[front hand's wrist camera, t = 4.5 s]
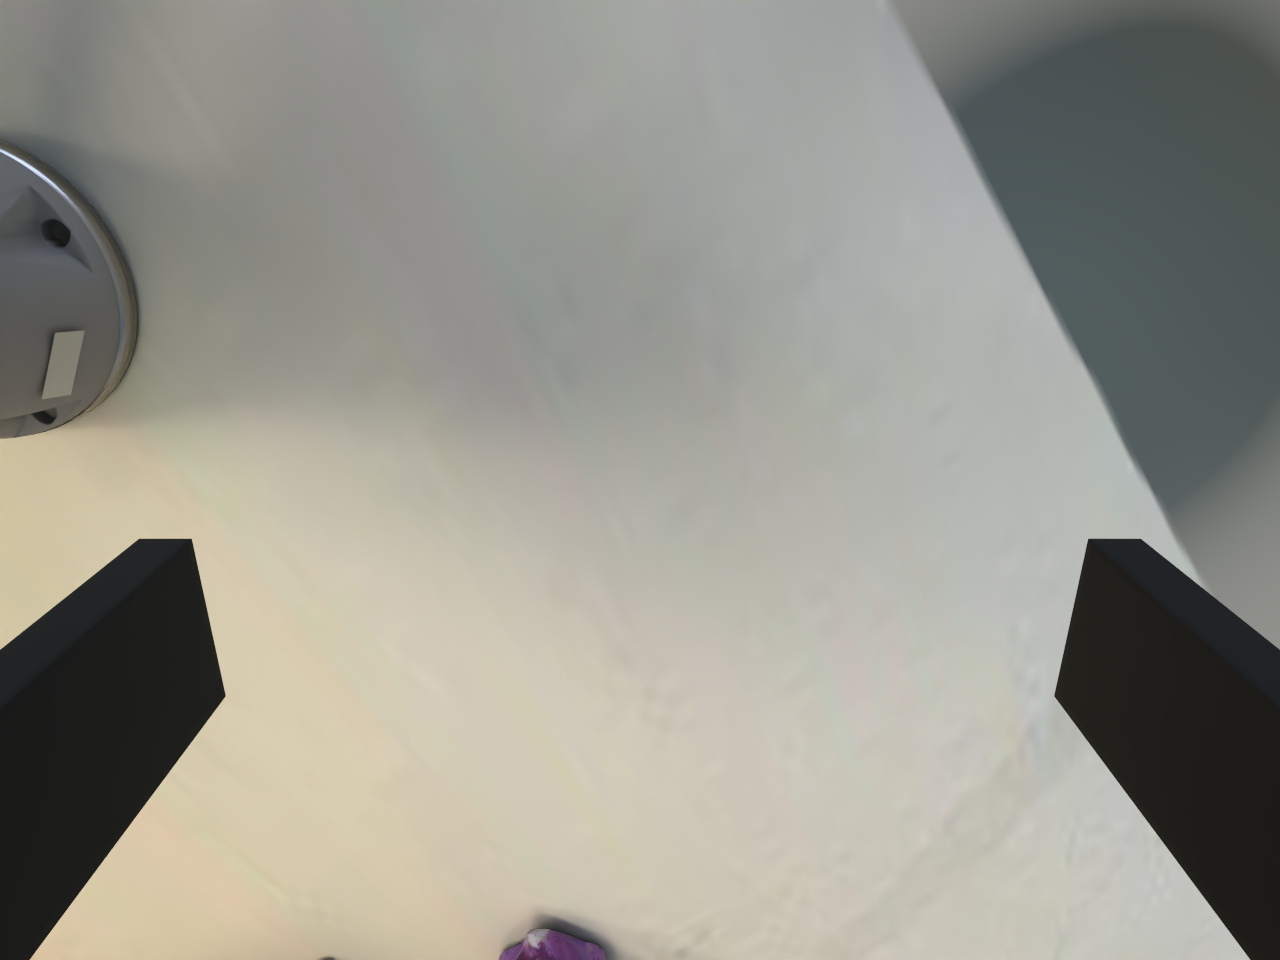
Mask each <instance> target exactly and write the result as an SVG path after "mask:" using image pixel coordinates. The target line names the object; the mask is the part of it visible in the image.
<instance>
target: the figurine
mask: <svg viewBox="0 0 1280 960" xmlns="http://www.w3.org/2000/svg"><path fill="white" fill-rule="evenodd" d="M499 960H607V958H606V954H605V952H604V951H603V950H602V949H601V948H600V946H598V945H596V944H593V943H591V942H584V941H582V940H580V939H577V938H575V937H573V936H570V935H568V934H565V933H561V932H558V931H554V930H550V929H535V930H531V931H530V932H529V933H527V934H526V936H525V938H524V942H521V943H520V944H519V945H516V946H514V947H512V948H509V949H507V950H505V951H504V952H503V953H502V954H501V955H500V958H499Z"/></svg>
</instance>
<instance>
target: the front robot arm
mask: <svg viewBox="0 0 1280 960" xmlns="http://www.w3.org/2000/svg"><path fill="white" fill-rule="evenodd" d="M136 334H137V306H136V299H135V292H134V288H133V284H132V280H131V276H130V273H129V270H128V267H127V265H126V262H125V260H124V257H123V255H122V253H121V251H120V248H119V246H118V244H117V243H116V241H115V239H114V237H113V235H112V234H111V232H110V230H109V229H108V227H107V226H106V224H105V223H104V221H103V220H102V218H101V217H100V216H99V215H98V213H97V212H96V211H95V209H94V208H93V207H92V206H91V204H90V203H89V202H88V201H87V200H86V199H85V198H84V197H83V196H82V195H81V193H80V192H79V191H77V190H76V189H75V188H74V187H73V186H72V185H71V184H70V183H69V182H68V181H67V180H66V179H64V178H63V177H62V176H61V175H59V174H58V173H57V172H56V171H54V170H53V169H52V168H50V167H49V166H47V165H46V164H44V163H43V162H41V161H40V160H38V159H37V158H35V157H33V156H31V155H30V154H28V153H26V152H24V151H22V150H20V149H18V148H16V147H14V146H12V145H9V144H7V143H4V142H1V141H0V438H15V437H21V436H27V435H33V434H37V433H41V432H46V431H49V430H51V429H54V428H57V427H59V426H61V425H64V424H66V423H68V422H70V421H72V420H74V419H76V418H78V417H80V416H82V415H84V414H86V413H87V412H89V411H90V410H92V409H94V408H95V407H96V406H98V405H99V404H100V403H101V402H103V401H104V400H105V399H106V398H107V397H108V396H109V395H110V394H111V393H112V392H113V390H114V389H115V388H116V386H117V385H118V384H119V382H120V381H121V379H122V377H123V375H124V374H125V372H126V370H127V367H128V365H129V363H130V360H131V357H132V354H133V350H134V346H135V340H136ZM224 698H225V691H224V686H223V682H222V677H221V672H220V668H219V663H218V659H217V654H216V649H215V645H214V640H213V635H212V631H211V626H210V622H209V617H208V612H207V608H206V603H205V598H204V594H203V589H202V585H201V580H200V575H199V571H198V566H197V561H196V557H195V552H194V548H193V543H192V539H139V540H137V541H136V542H135V543H134V544H132V545H131V546H130V547H129V548H127V549H126V550H125V551H124V552H122V553H121V554H120V555H119V556H117V557H116V558H115V559H114V560H112V561H111V562H110V563H109V564H107V565H106V566H105V567H104V568H102V569H101V570H100V571H98V572H97V573H96V574H95V575H93V576H92V577H91V578H90V579H88V580H87V581H86V582H85V583H83V584H82V585H81V586H80V587H78V588H77V589H76V590H75V591H73V592H72V593H71V594H70V595H68V596H67V597H66V598H65V599H63V600H62V601H61V602H60V603H58V604H57V605H56V606H55V607H53V608H52V609H51V610H50V611H48V612H47V613H46V614H45V615H43V616H42V617H41V618H40V619H38V620H37V621H36V622H35V623H33V624H32V625H31V626H30V627H28V628H27V629H26V630H25V631H23V632H22V633H21V634H20V635H18V636H17V637H16V638H15V639H13V640H12V641H11V642H10V643H8V644H7V645H6V646H5V647H3V648H2V649H1V650H0V960H30V958H31V957H32V956H33V954H34V953H35V952H36V950H37V949H38V948H39V946H40V945H41V944H42V942H43V941H44V940H45V938H46V937H47V935H48V934H49V933H50V931H51V930H52V929H53V927H54V926H55V925H56V923H57V922H58V921H59V919H60V918H61V917H62V915H63V914H64V913H65V911H66V910H67V909H68V907H69V906H70V905H71V903H72V902H73V901H74V899H75V898H76V896H77V895H78V894H79V892H80V891H81V890H82V888H83V887H84V886H85V884H86V883H87V882H88V880H89V879H90V878H91V876H92V875H93V874H94V872H95V871H96V870H97V868H98V867H99V866H100V864H101V863H102V862H103V860H104V859H105V858H106V856H107V855H108V853H109V852H110V851H111V849H112V848H113V847H114V845H115V844H116V843H117V841H118V840H119V839H120V837H121V836H122V835H123V833H124V832H125V831H126V829H127V828H128V827H129V825H130V824H131V823H132V821H133V820H134V819H135V817H136V816H137V815H138V813H139V812H140V810H141V809H142V808H143V806H144V805H145V804H146V802H147V801H148V800H149V798H150V797H151V796H152V794H153V793H154V792H155V790H156V789H157V788H158V786H159V785H160V784H161V782H162V781H163V780H164V778H165V777H166V776H167V774H168V773H169V772H170V770H171V769H172V767H173V766H174V765H175V763H176V762H177V761H178V759H179V758H180V757H181V755H182V754H183V753H184V751H185V750H186V749H187V747H188V746H189V745H190V743H191V742H192V741H193V739H194V738H195V737H196V735H197V734H198V733H199V731H200V730H201V729H202V727H203V726H204V724H205V723H206V722H207V720H208V719H209V718H210V716H211V715H212V714H213V712H214V711H215V710H216V708H217V707H218V706H219V704H220V703H221V702H222V700H223V699H224ZM1055 698H1056V699H1057V700H1058V702H1059V703H1060V704H1061V706H1062V707H1063V708H1064V710H1065V711H1066V712H1067V714H1068V715H1069V716H1070V718H1071V719H1072V720H1073V722H1074V723H1075V724H1076V726H1077V727H1078V729H1079V730H1080V731H1081V733H1082V734H1083V735H1084V737H1085V738H1086V739H1087V741H1088V742H1089V743H1090V745H1091V746H1092V747H1093V749H1094V750H1095V751H1096V753H1097V754H1098V755H1099V757H1100V758H1101V759H1102V761H1103V762H1104V763H1105V765H1106V766H1107V767H1108V769H1109V770H1110V772H1111V773H1112V774H1113V776H1114V777H1115V778H1116V780H1117V781H1118V782H1119V784H1120V785H1121V786H1122V788H1123V789H1124V790H1125V792H1126V793H1127V794H1128V796H1129V797H1130V798H1131V800H1132V801H1133V802H1134V804H1135V805H1136V806H1137V808H1138V809H1139V810H1140V812H1141V813H1142V815H1143V816H1144V817H1145V819H1146V820H1147V821H1148V823H1149V824H1150V825H1151V827H1152V828H1153V829H1154V831H1155V832H1156V833H1157V835H1158V836H1159V837H1160V839H1161V840H1162V841H1163V843H1164V844H1165V845H1166V847H1167V848H1168V849H1169V851H1170V852H1171V853H1172V855H1173V856H1174V858H1175V859H1176V860H1177V862H1178V863H1179V864H1180V866H1181V867H1182V868H1183V870H1184V871H1185V872H1186V874H1187V875H1188V876H1189V878H1190V879H1191V880H1192V882H1193V883H1194V884H1195V886H1196V887H1197V888H1198V890H1199V891H1200V892H1201V894H1202V895H1203V896H1204V898H1205V899H1206V901H1207V902H1208V903H1209V905H1210V906H1211V907H1212V909H1213V910H1214V911H1215V913H1216V914H1217V915H1218V917H1219V918H1220V919H1221V921H1222V922H1223V923H1224V925H1225V926H1226V927H1227V929H1228V930H1229V931H1230V933H1231V934H1232V935H1233V937H1234V938H1235V940H1236V941H1237V942H1238V944H1239V945H1240V946H1241V948H1242V949H1243V950H1244V952H1245V953H1246V954H1247V956H1248V957H1249V958H1250V960H1280V650H1279V649H1278V648H1277V647H1275V646H1274V645H1273V644H1272V643H1270V642H1269V641H1268V640H1267V639H1265V638H1264V637H1263V636H1262V635H1260V634H1259V633H1258V632H1257V631H1255V630H1254V629H1253V628H1252V627H1250V626H1249V625H1248V624H1247V623H1245V622H1244V621H1243V620H1242V619H1240V618H1239V617H1238V616H1237V615H1235V614H1234V613H1233V612H1231V611H1230V610H1229V609H1228V608H1227V607H1225V606H1224V605H1223V604H1222V603H1220V602H1219V601H1218V600H1217V599H1215V598H1214V597H1213V596H1212V595H1210V594H1209V593H1208V592H1207V591H1205V590H1204V589H1203V588H1202V587H1200V586H1199V585H1198V584H1197V583H1195V582H1194V581H1193V580H1192V579H1190V578H1189V577H1188V576H1187V575H1185V574H1184V573H1183V572H1182V571H1180V570H1179V569H1178V568H1176V567H1175V566H1174V565H1173V564H1171V563H1170V562H1169V561H1168V560H1166V559H1165V558H1164V557H1163V556H1161V555H1160V554H1159V553H1158V552H1156V551H1155V550H1154V549H1153V548H1151V547H1150V546H1149V545H1148V544H1146V543H1145V542H1144V541H1143V540H1141V539H1088V543H1087V548H1086V552H1085V557H1084V561H1083V566H1082V571H1081V575H1080V580H1079V585H1078V589H1077V594H1076V598H1075V603H1074V608H1073V612H1072V617H1071V622H1070V626H1069V631H1068V635H1067V640H1066V645H1065V649H1064V654H1063V659H1062V663H1061V668H1060V672H1059V677H1058V682H1057V686H1056V691H1055Z"/></svg>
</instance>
